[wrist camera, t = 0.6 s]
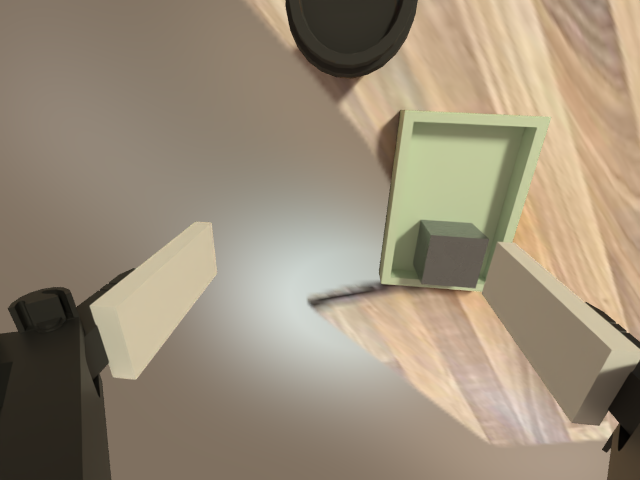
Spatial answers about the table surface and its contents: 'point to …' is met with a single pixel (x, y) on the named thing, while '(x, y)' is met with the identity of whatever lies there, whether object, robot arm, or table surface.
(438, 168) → the green tray
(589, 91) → the table surface
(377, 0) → the coffee cup
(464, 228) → the cube
